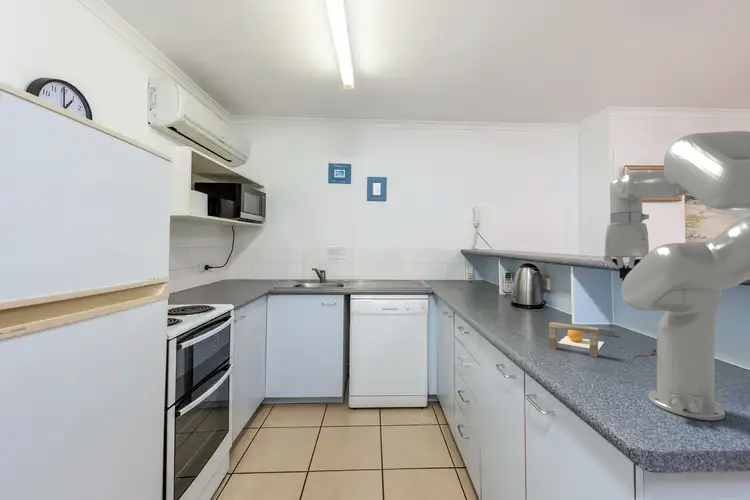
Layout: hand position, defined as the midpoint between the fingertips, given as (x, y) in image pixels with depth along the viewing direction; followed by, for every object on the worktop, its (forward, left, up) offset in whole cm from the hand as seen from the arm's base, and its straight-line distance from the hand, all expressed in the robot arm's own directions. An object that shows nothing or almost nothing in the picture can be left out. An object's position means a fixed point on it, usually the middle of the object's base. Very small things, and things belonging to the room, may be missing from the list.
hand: (626, 280), depth 95 cm
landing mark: (+24, +16, -27) cm, 39 cm away
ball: (+25, +18, -24) cm, 39 cm away
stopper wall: (+44, +16, -27) cm, 54 cm away
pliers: (+22, -4, -28) cm, 36 cm away
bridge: (+10, +16, -27) cm, 33 cm away
